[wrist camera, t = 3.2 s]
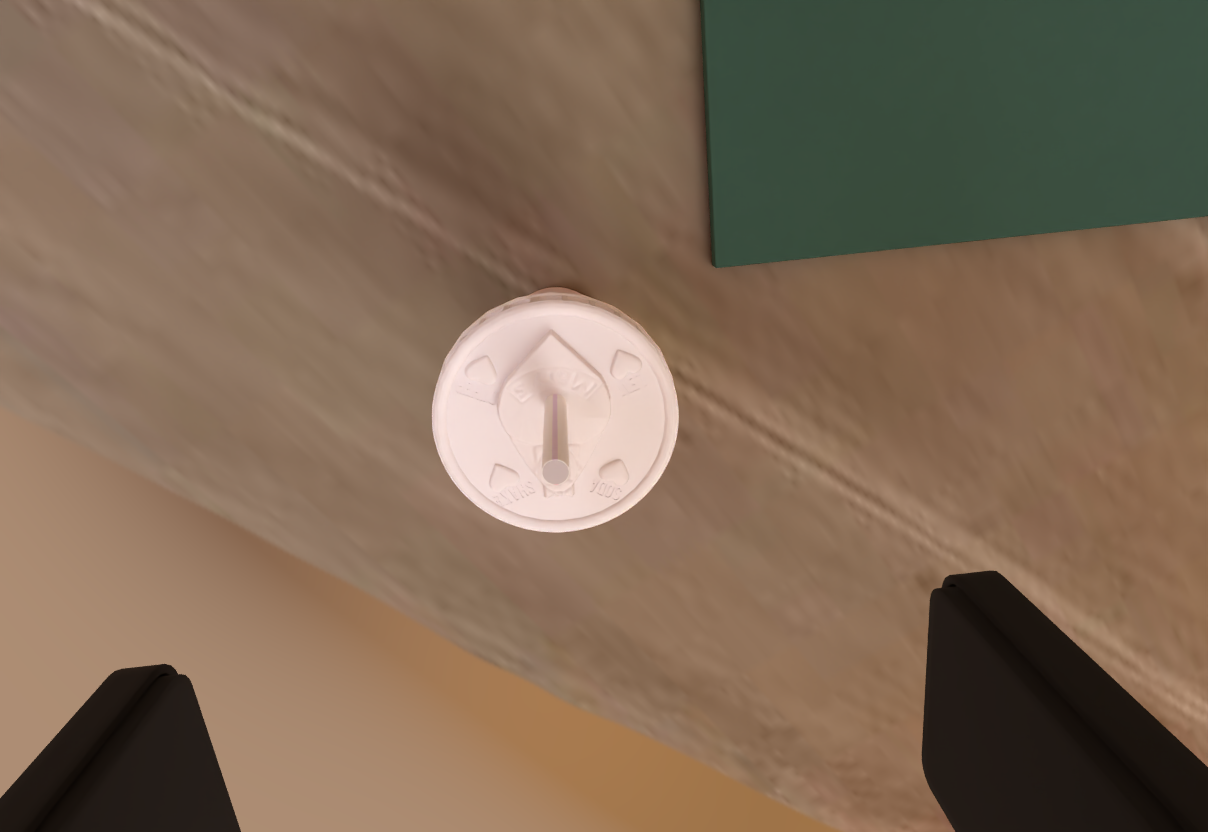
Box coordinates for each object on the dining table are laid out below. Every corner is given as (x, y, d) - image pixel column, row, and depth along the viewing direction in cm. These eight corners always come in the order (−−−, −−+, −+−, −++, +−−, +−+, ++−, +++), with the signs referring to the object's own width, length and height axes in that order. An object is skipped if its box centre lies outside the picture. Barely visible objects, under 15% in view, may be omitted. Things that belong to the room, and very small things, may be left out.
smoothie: (640, 246, 27) (720, 334, 14) (642, 412, 29) (713, 625, 16) (462, 252, 27) (372, 348, 14) (477, 420, 29) (412, 643, 16)
